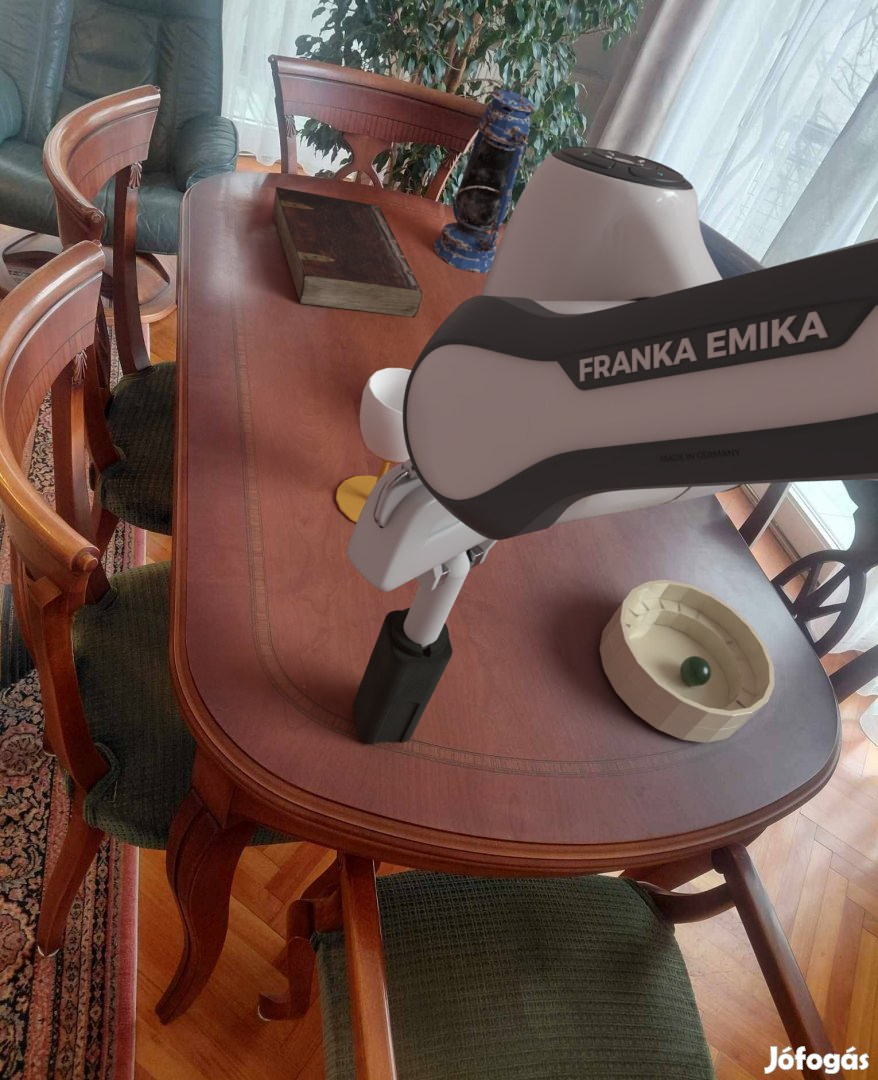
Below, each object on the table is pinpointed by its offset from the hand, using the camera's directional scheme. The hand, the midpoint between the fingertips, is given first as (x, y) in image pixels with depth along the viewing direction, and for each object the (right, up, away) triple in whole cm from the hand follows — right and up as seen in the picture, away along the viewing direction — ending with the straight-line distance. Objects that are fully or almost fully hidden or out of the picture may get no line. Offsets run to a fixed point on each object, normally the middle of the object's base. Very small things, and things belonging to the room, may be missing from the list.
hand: (448, 571), depth 57 cm
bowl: (+25, -13, +28) cm, 40 cm away
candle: (-6, -14, +14) cm, 21 cm away
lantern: (+4, +55, +89) cm, 105 cm away
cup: (-8, +7, +34) cm, 36 cm away
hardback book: (-17, +48, +73) cm, 89 cm away
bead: (+27, -12, +26) cm, 39 cm away
